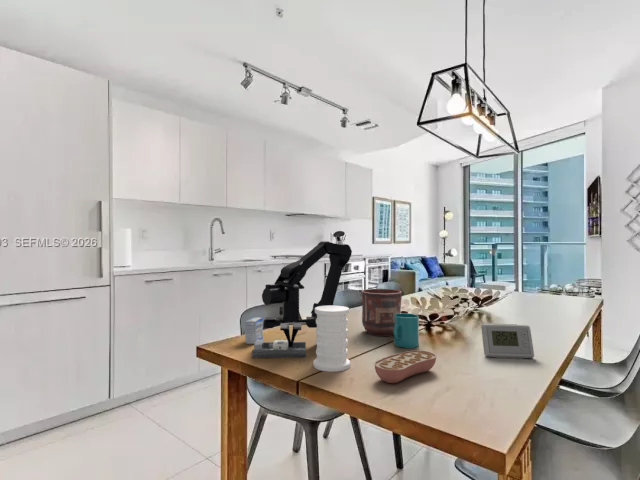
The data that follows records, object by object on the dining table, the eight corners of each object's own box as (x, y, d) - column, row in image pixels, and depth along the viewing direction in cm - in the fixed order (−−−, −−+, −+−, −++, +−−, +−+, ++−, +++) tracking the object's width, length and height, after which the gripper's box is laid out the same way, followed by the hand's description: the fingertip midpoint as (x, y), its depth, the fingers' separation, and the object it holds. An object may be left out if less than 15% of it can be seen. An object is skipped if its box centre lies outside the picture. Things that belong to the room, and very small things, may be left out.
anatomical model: (393, 391, 98) (393, 372, 98) (365, 380, 105) (365, 362, 105) (442, 371, 112) (442, 355, 112) (414, 363, 120) (414, 348, 120)
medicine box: (255, 344, 142) (255, 321, 142) (244, 343, 143) (244, 321, 143) (263, 339, 149) (263, 317, 149) (252, 338, 150) (252, 317, 150)
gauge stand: (305, 348, 136) (305, 337, 136) (305, 356, 126) (306, 345, 126) (255, 349, 135) (255, 338, 135) (252, 357, 125) (252, 345, 125)
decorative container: (314, 359, 123) (314, 305, 124) (349, 359, 123) (349, 305, 123) (312, 371, 112) (312, 311, 112) (351, 372, 111) (351, 311, 112)
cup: (384, 346, 139) (384, 316, 139) (403, 340, 147) (403, 312, 147) (405, 351, 133) (405, 320, 133) (423, 345, 141) (423, 315, 141)
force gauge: (288, 346, 134) (288, 339, 134) (287, 353, 126) (287, 346, 126) (270, 346, 134) (270, 339, 134) (267, 353, 125) (267, 346, 125)
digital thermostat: (482, 357, 126) (482, 326, 126) (480, 350, 135) (480, 320, 135) (536, 362, 121) (536, 329, 121) (530, 354, 129) (530, 324, 130)
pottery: (411, 333, 158) (411, 291, 158) (381, 339, 148) (380, 294, 149) (382, 326, 173) (381, 287, 173) (352, 331, 163) (352, 290, 163)
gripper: (316, 298, 139) (316, 340, 139) (266, 299, 138) (265, 341, 138) (318, 303, 128) (317, 349, 128) (263, 303, 127) (263, 349, 127)
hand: (290, 346), depth 131 cm, fingers closed
